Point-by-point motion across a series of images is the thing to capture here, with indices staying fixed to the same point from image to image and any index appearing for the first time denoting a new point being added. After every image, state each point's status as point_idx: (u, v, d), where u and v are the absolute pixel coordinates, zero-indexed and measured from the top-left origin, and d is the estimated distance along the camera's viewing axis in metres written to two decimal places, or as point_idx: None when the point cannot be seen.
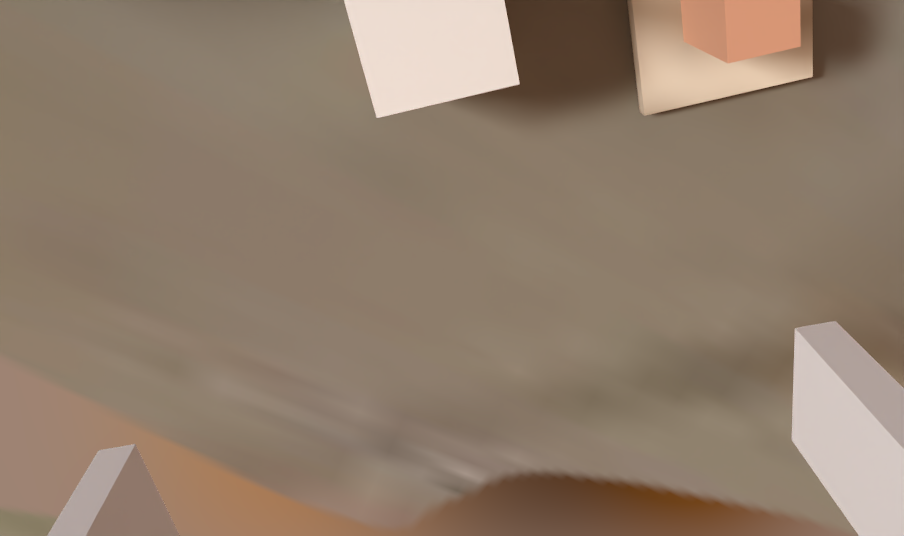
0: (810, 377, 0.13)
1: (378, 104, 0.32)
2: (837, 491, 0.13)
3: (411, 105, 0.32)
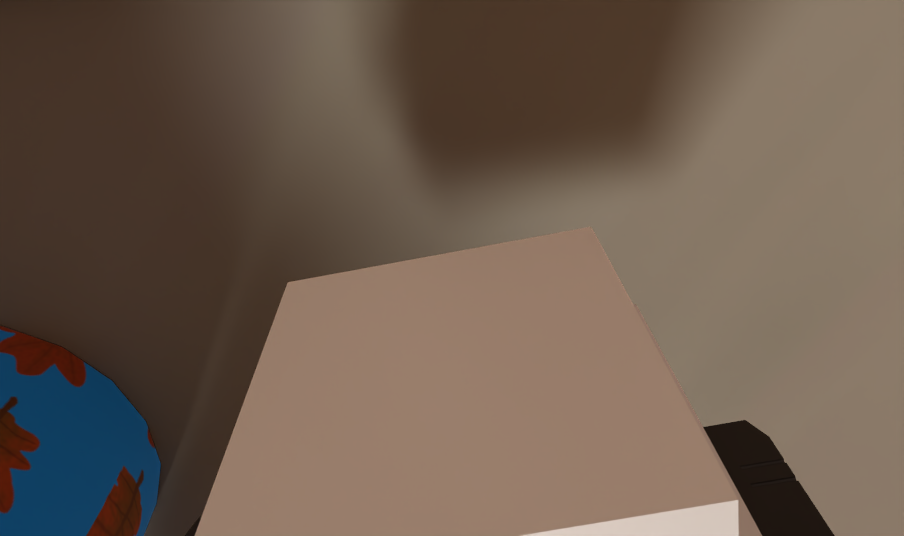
0: None
1: None
2: None
3: None
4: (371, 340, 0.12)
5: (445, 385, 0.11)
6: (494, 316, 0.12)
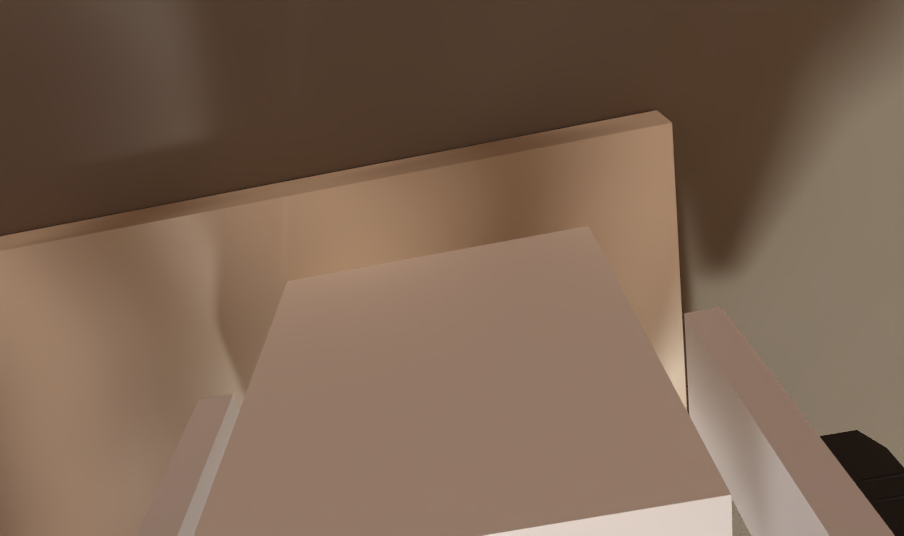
0: (696, 358, 0.14)
1: None
2: (719, 463, 0.14)
3: None
4: (370, 338, 0.12)
5: (443, 382, 0.11)
6: (492, 314, 0.12)
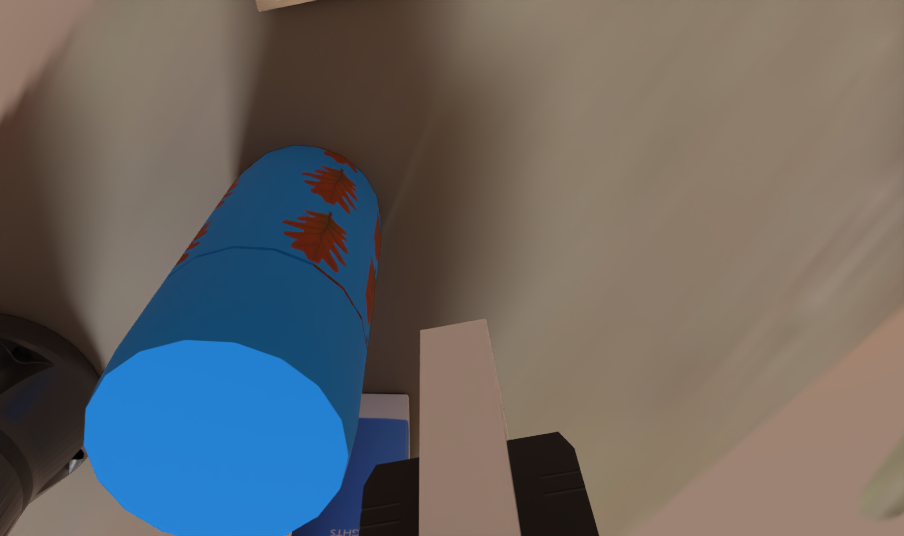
0: None
1: None
2: None
3: None
4: None
5: None
6: None
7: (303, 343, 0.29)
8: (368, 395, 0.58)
